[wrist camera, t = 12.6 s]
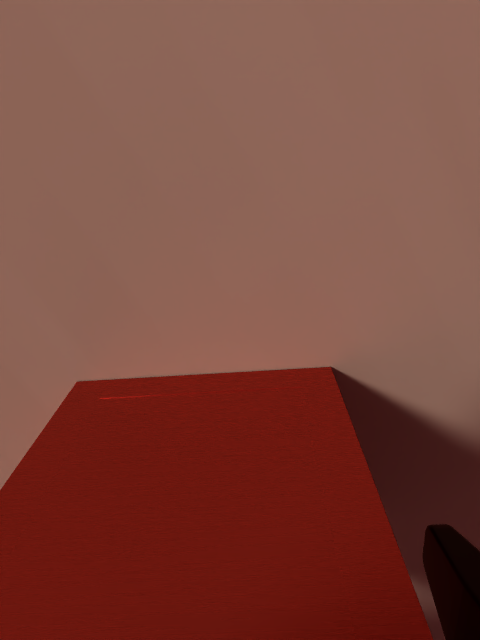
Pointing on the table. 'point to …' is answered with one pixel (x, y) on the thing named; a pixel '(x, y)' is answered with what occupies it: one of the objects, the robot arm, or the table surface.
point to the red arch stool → (201, 517)
